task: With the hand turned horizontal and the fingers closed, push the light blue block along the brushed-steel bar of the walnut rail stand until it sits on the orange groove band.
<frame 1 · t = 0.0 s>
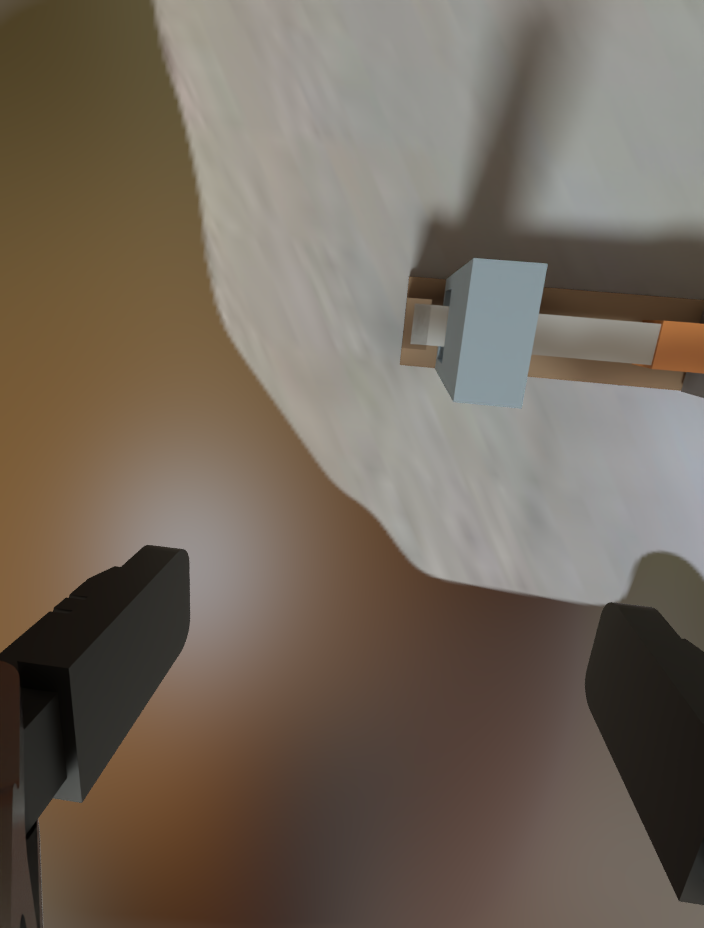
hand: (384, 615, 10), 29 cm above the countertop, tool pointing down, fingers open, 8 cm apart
light blue block: (476, 330, 28), point 8 cm above the countertop, slide at 0.0 cm
rail: (576, 336, 36), on the countertop
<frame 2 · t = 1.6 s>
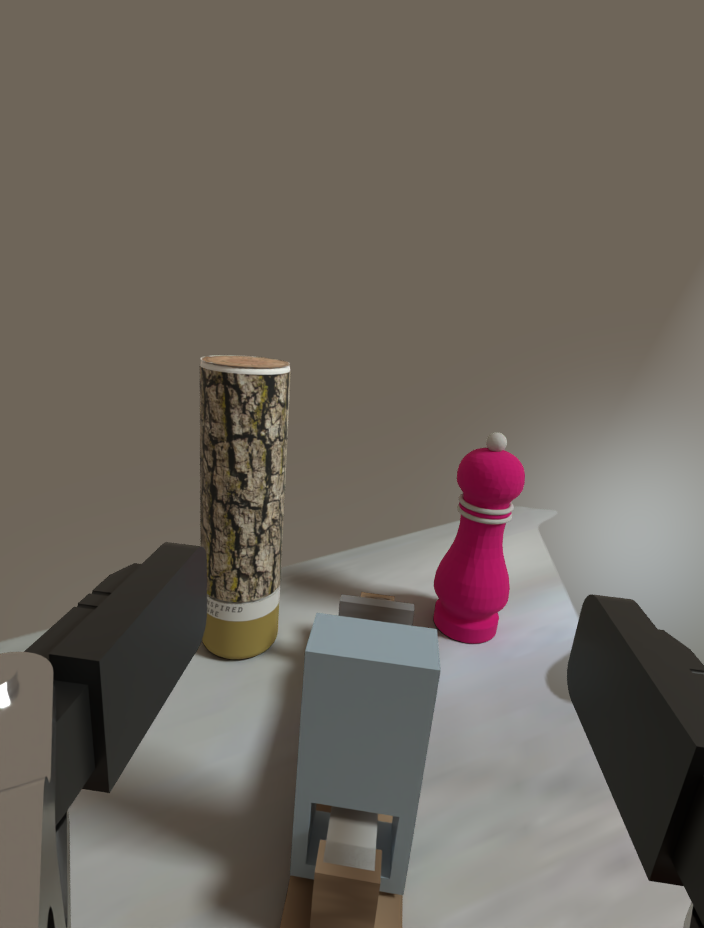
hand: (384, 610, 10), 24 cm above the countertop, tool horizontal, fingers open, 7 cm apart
pepper mill: (463, 626, 52), on the countertop
paper tube: (239, 640, 46), on the countertop
light blue block: (360, 756, 26), point 8 cm above the countertop, slide at 0.0 cm
rail: (360, 749, 36), on the countertop
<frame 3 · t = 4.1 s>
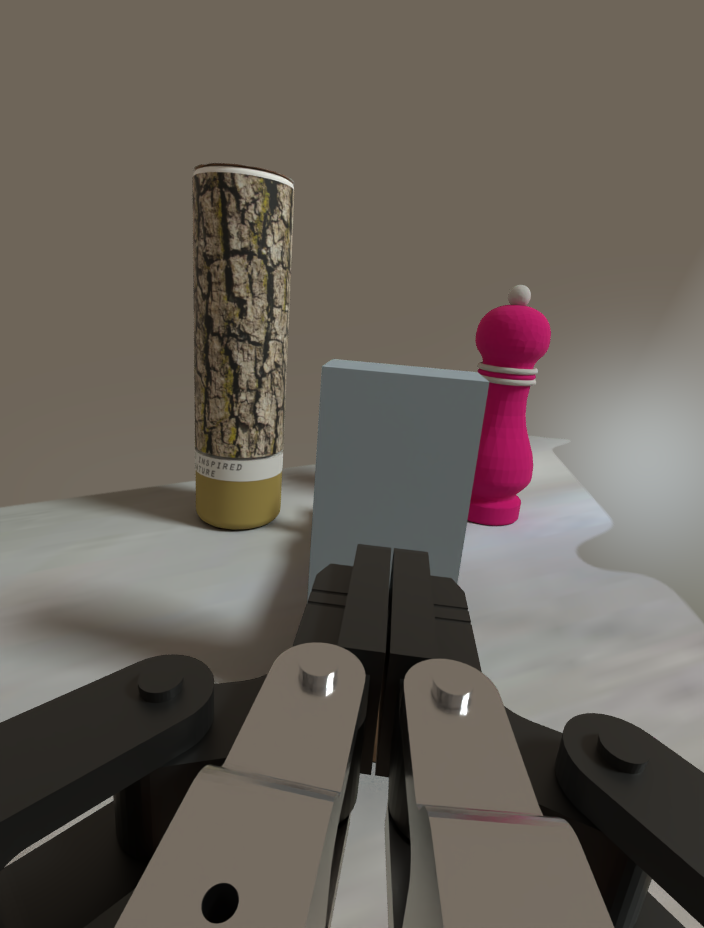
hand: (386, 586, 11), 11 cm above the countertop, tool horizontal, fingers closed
pepper mill: (482, 514, 47), on the countertop
paper tube: (238, 517, 42), on the countertop
light blue block: (386, 535, 22), point 8 cm above the countertop, slide at 0.0 cm
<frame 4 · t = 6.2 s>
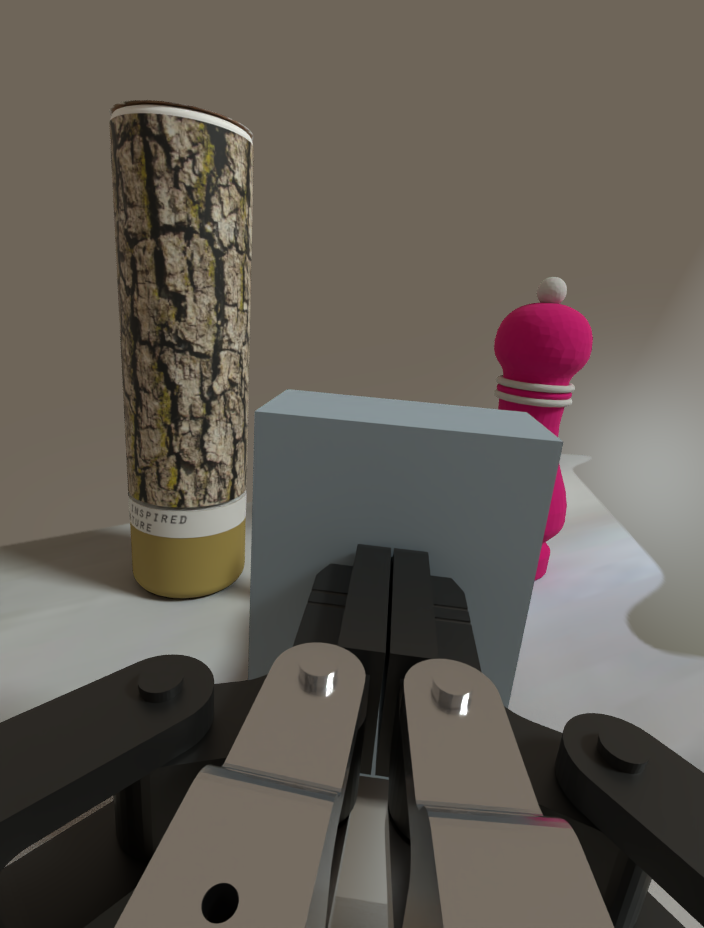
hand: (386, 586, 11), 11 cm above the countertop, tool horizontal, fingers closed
pepper mill: (501, 564, 38), on the countertop
paper tube: (190, 577, 33), on the countertop
light blue block: (375, 675, 13), point 8 cm above the countertop, slide at 1.1 cm, touching gripper
rail: (366, 719, 22), on the countertop
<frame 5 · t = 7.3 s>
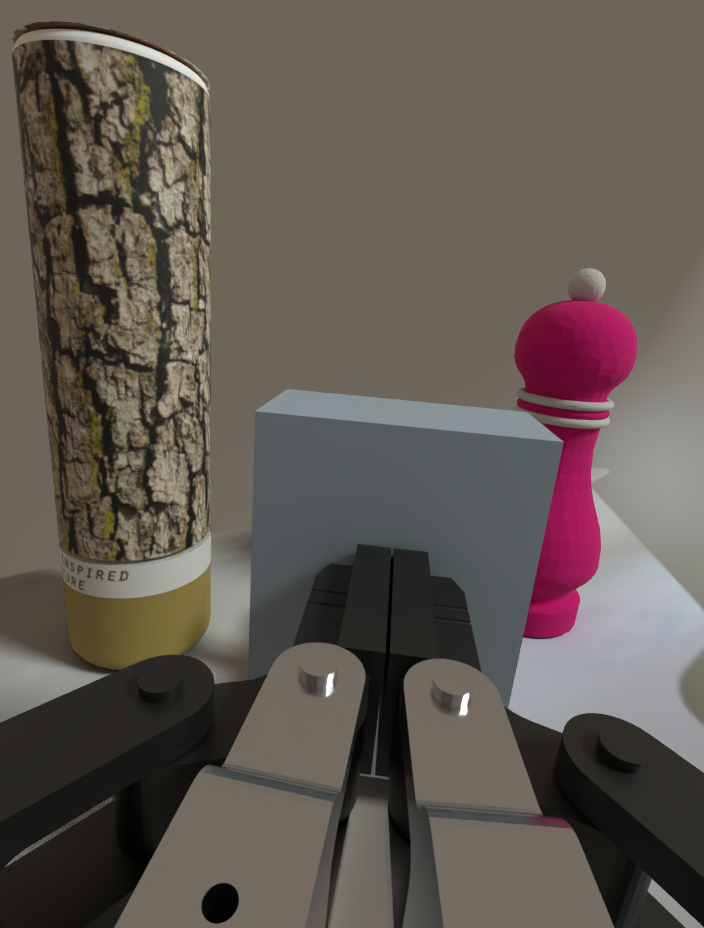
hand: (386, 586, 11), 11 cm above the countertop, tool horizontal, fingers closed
pepper mill: (520, 611, 32), on the countertop
paper tube: (143, 636, 27), on the countertop
light blue block: (375, 675, 13), point 8 cm above the countertop, slide at 7.4 cm, touching gripper
rail: (353, 868, 16), on the countertop
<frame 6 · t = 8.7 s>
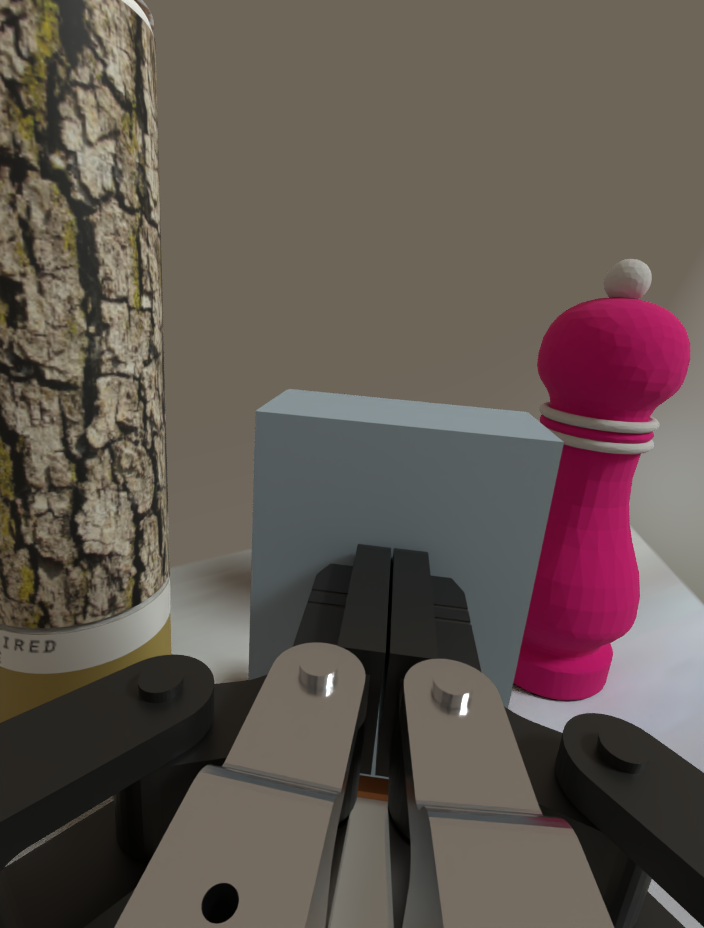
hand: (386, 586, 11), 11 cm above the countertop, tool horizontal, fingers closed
pepper mill: (541, 662, 27), on the countertop
paper tube: (89, 703, 22), on the countertop
light blue block: (376, 674, 13), point 8 cm above the countertop, slide at 12.3 cm, touching gripper
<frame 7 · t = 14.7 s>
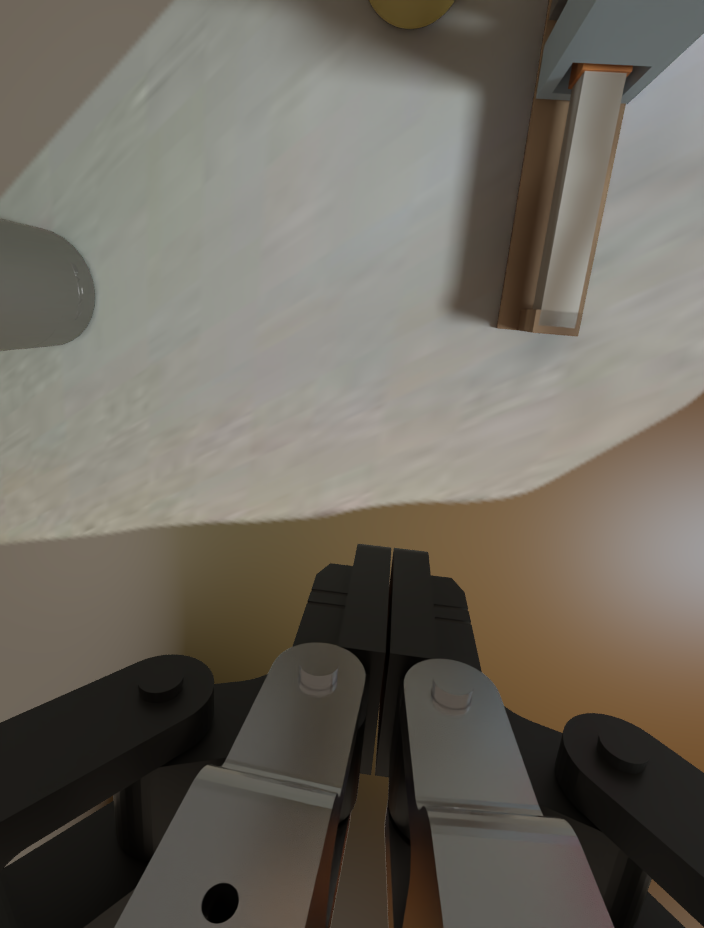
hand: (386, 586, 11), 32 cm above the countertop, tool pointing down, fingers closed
light blue block: (631, 15, 27), point 8 cm above the countertop, slide at 12.5 cm
rail: (568, 155, 36), on the countertop
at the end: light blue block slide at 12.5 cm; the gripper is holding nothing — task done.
